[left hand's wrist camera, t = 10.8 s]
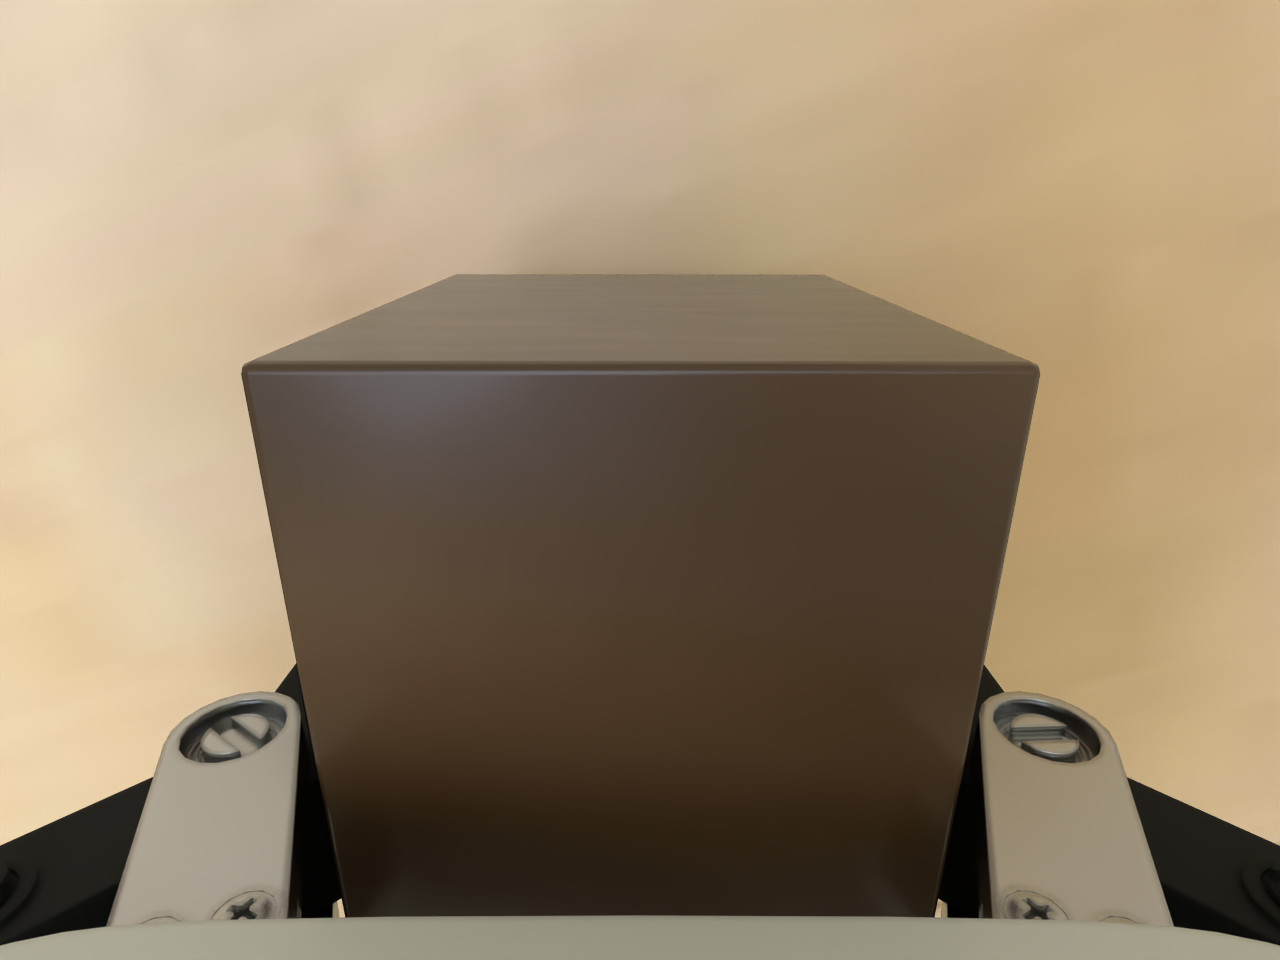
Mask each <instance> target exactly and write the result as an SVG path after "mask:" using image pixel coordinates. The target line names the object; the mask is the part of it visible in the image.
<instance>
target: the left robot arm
mask: <svg viewBox="0 0 1280 960" xmlns="http://www.w3.org/2000/svg"><path fill="white" fill-rule="evenodd" d="M339 899H342V897H341V892H340V886H339V881H338V876H337V871H336V866H335V860H334V855H333V850H332V845H331V839H330V834H329V829H328V824H327V819H326V813H325V808H324V803H323V798H322V792H321V787H320V782H319V777H318V772H317V766H316V761H315V756H314V751H313V745H312V740H311V735H310V730H309V725H308V719H307V714H306V709H305V704H304V699H303V693H302V688H301V683H300V678H299V672H298V667H297V663H296V664H295V666H294V667H293V668H292V670H291V671H290V672H289V674H288V675H287V677H286V678H285V679H284V681H283V682H282V683H281V685H280V686H279V687H278V689H277V690H276V691H275V692H261V691H260V692H251V693H243V694H238V695H235V696H231V697H227V698H224V699H220V700H218V701H216V702H214V703H211V704H209V705H207V706H205V707H202V708H200V709H199V710H197V711H196V712H194V713H193V714H191V715H189V716H188V717H186V718H185V719H183V720H182V721H181V722H180V723H179V724H178V725H177V726H176V727H175V728H174V729H173V730H172V731H171V732H170V734H169V736H168V738H167V740H166V741H165V743H164V745H163V748H162V752H161V755H160V758H159V761H158V764H157V767H156V771H155V774H154V777H152V778H150V779H148V780H145V781H143V782H141V783H139V784H136V785H134V786H132V787H130V788H128V789H125V790H123V791H121V792H119V793H116V794H114V795H112V796H110V797H107V798H105V799H103V800H101V801H99V802H96V803H94V804H92V805H90V806H87V807H85V808H83V809H81V810H79V811H76V812H74V813H72V814H70V815H67V816H65V817H63V818H61V819H59V820H56V821H54V822H52V823H50V824H47V825H45V826H43V827H41V828H39V829H36V830H34V831H32V832H30V833H27V834H25V835H23V836H21V837H19V838H16V839H14V840H12V841H10V842H7V843H5V844H3V845H1V846H0V960H1280V846H1279V845H1277V844H1274V843H1272V842H1270V841H1268V840H1265V839H1263V838H1261V837H1259V836H1257V835H1254V834H1252V833H1250V832H1248V831H1245V830H1243V829H1241V828H1239V827H1237V826H1234V825H1232V824H1230V823H1228V822H1225V821H1223V820H1221V819H1219V818H1216V817H1214V816H1212V815H1210V814H1208V813H1205V812H1203V811H1201V810H1199V809H1196V808H1194V807H1192V806H1190V805H1188V804H1185V803H1183V802H1181V801H1179V800H1176V799H1174V798H1172V797H1170V796H1168V795H1165V794H1163V793H1161V792H1159V791H1156V790H1154V789H1152V788H1150V787H1147V786H1145V785H1143V784H1141V783H1139V782H1136V781H1134V780H1132V779H1130V778H1127V777H1126V774H1125V771H1124V767H1123V764H1122V761H1121V758H1120V755H1119V752H1118V748H1117V745H1116V743H1115V741H1114V740H1113V738H1112V736H1111V734H1110V732H1109V731H1108V730H1107V729H1106V728H1105V727H1104V726H1103V725H1102V724H1101V723H1100V722H1099V721H1098V720H1097V719H1095V718H1094V717H1092V716H1091V715H1089V714H1087V713H1086V712H1084V711H1083V710H1081V709H1080V708H1078V707H1075V706H1073V705H1071V704H1069V703H1066V702H1064V701H1062V700H1060V699H1056V698H1053V697H1049V696H1045V695H1042V694H1037V693H1029V692H1020V691H1019V692H1004V691H1003V690H1002V688H1001V687H1000V686H999V684H998V683H997V682H996V680H995V679H994V678H993V676H992V675H991V674H990V672H989V671H988V669H987V668H986V667H985V665H983V670H982V675H981V681H980V686H979V691H978V696H977V701H976V706H975V711H974V717H973V722H972V727H971V732H970V737H969V742H968V747H967V752H966V758H965V763H964V768H963V773H962V778H961V783H960V788H959V794H958V799H957V804H956V809H955V814H954V819H953V824H952V829H951V835H950V840H949V845H948V850H947V855H946V860H945V865H944V871H943V876H942V881H941V886H940V891H939V896H938V899H940V900H942V901H943V904H942V909H941V918H930V917H844V916H642V915H638V916H435V917H350V918H339V909H338V904H337V901H338V900H339Z"/></svg>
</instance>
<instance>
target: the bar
mask: <svg viewBox="0 0 1280 960" xmlns="http://www.w3.org/2000/svg"><path fill="white" fill-rule="evenodd" d="M241 375H242V380H243V385H244V391H245V396H246V401H247V406H248V411H249V417H250V422H251V427H252V432H253V438H254V443H255V448H256V453H257V458H258V464H259V469H260V474H261V479H262V485H263V490H264V495H265V500H266V505H267V511H268V516H269V521H270V526H271V531H272V537H273V542H274V547H275V552H276V558H277V563H278V568H279V573H280V578H281V584H282V589H283V594H284V599H285V605H286V610H287V615H288V620H289V625H290V631H291V636H292V641H293V646H294V652H295V657H296V662H297V667H298V672H299V678H300V683H301V688H302V693H303V699H304V704H305V709H306V714H307V719H308V725H309V730H310V735H311V740H312V745H313V751H314V756H315V761H316V766H317V772H318V777H319V782H320V787H321V792H322V798H323V803H324V808H325V813H326V819H327V824H328V829H329V834H330V839H331V845H332V850H333V855H334V860H335V866H336V871H337V876H338V881H339V886H340V892H341V897H342V902H343V907H344V913H345V918H350V917H435V916H638V915H642V916H844V917H930V918H934V917H935V912H936V906H937V901H938V896H939V891H940V886H941V881H942V876H943V871H944V865H945V860H946V855H947V850H948V845H949V840H950V835H951V829H952V824H953V819H954V814H955V809H956V804H957V799H958V794H959V788H960V783H961V778H962V773H963V768H964V763H965V758H966V752H967V747H968V742H969V737H970V732H971V727H972V722H973V717H974V711H975V706H976V701H977V696H978V691H979V686H980V681H981V675H982V670H983V665H984V660H985V655H986V650H987V645H988V640H989V634H990V629H991V624H992V619H993V614H994V609H995V604H996V598H997V593H998V588H999V583H1000V578H1001V573H1002V568H1003V563H1004V557H1005V552H1006V547H1007V542H1008V537H1009V532H1010V527H1011V521H1012V516H1013V511H1014V506H1015V501H1016V496H1017V491H1018V486H1019V480H1020V475H1021V470H1022V465H1023V460H1024V455H1025V450H1026V444H1027V439H1028V434H1029V429H1030V424H1031V419H1032V414H1033V409H1034V403H1035V398H1036V393H1037V388H1038V383H1039V378H1040V372H1039V367H1038V365H1036V364H1034V363H1032V362H1030V361H1027V360H1025V359H1022V358H1020V357H1018V356H1015V355H1013V354H1011V353H1008V352H1006V351H1003V350H1001V349H999V348H996V347H994V346H992V345H989V344H987V343H984V342H982V341H980V340H977V339H975V338H973V337H970V336H968V335H965V334H963V333H961V332H958V331H956V330H953V329H951V328H949V327H946V326H944V325H942V324H939V323H937V322H934V321H932V320H930V319H927V318H925V317H923V316H920V315H918V314H915V313H913V312H911V311H908V310H906V309H904V308H901V307H899V306H896V305H894V304H892V303H889V302H887V301H885V300H882V299H880V298H877V297H875V296H873V295H870V294H868V293H865V292H863V291H861V290H858V289H856V288H854V287H851V286H849V285H846V284H844V283H842V282H839V281H837V280H835V279H832V278H830V277H827V276H825V275H454V276H452V277H449V278H447V279H444V280H442V281H440V282H437V283H435V284H433V285H430V286H428V287H425V288H423V289H421V290H418V291H416V292H414V293H411V294H409V295H406V296H404V297H402V298H399V299H397V300H395V301H392V302H390V303H388V304H385V305H383V306H380V307H378V308H376V309H373V310H371V311H369V312H366V313H364V314H361V315H359V316H357V317H354V318H352V319H350V320H347V321H345V322H342V323H340V324H338V325H335V326H333V327H331V328H328V329H326V330H323V331H321V332H319V333H316V334H314V335H312V336H309V337H307V338H305V339H302V340H300V341H297V342H295V343H293V344H290V345H288V346H286V347H283V348H281V349H278V350H276V351H274V352H271V353H269V354H267V355H264V356H262V357H259V358H257V359H255V360H252V361H250V362H248V363H246V364H244V365H243V367H242V374H241Z"/></svg>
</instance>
